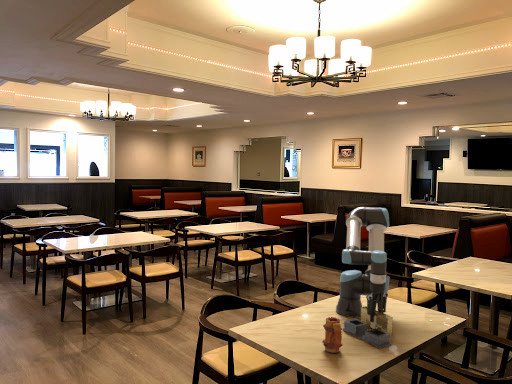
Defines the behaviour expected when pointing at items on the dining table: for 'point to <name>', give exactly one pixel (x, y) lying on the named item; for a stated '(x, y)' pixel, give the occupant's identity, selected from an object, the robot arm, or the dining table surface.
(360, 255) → the robot arm
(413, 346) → the dining table surface
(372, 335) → the grey double socket base
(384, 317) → the tan wooden block
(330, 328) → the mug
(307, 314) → the dining table surface
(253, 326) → the dining table surface
